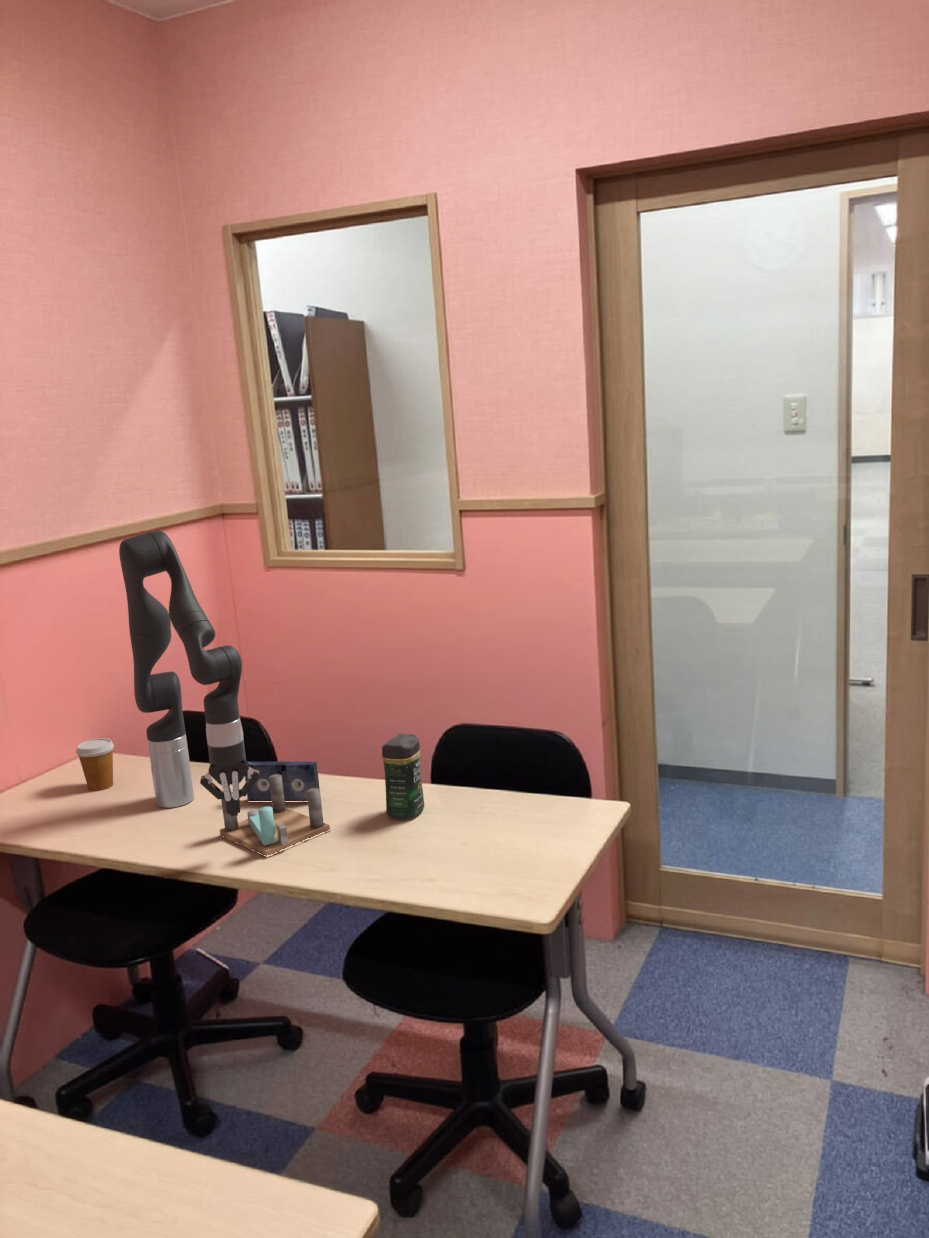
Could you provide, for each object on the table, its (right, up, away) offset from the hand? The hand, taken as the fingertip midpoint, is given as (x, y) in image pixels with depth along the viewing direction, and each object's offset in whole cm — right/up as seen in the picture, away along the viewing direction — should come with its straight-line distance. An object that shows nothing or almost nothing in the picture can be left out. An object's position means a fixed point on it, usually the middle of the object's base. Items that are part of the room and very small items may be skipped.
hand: (234, 814), depth 218 cm
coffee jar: (+36, -3, +18) cm, 41 cm away
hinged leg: (+4, -6, +7) cm, 10 cm away
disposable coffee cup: (-47, -2, +50) cm, 68 cm away
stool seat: (+7, -6, +12) cm, 15 cm away
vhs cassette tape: (+5, -3, +31) cm, 32 cm away
